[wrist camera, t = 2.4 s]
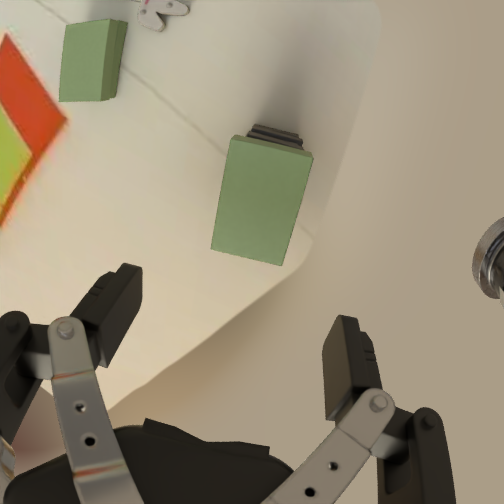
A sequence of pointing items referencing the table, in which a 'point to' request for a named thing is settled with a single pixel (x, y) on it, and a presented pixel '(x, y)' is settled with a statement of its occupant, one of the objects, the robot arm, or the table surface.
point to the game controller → (157, 3)
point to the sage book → (260, 199)
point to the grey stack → (276, 136)
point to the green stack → (91, 60)
